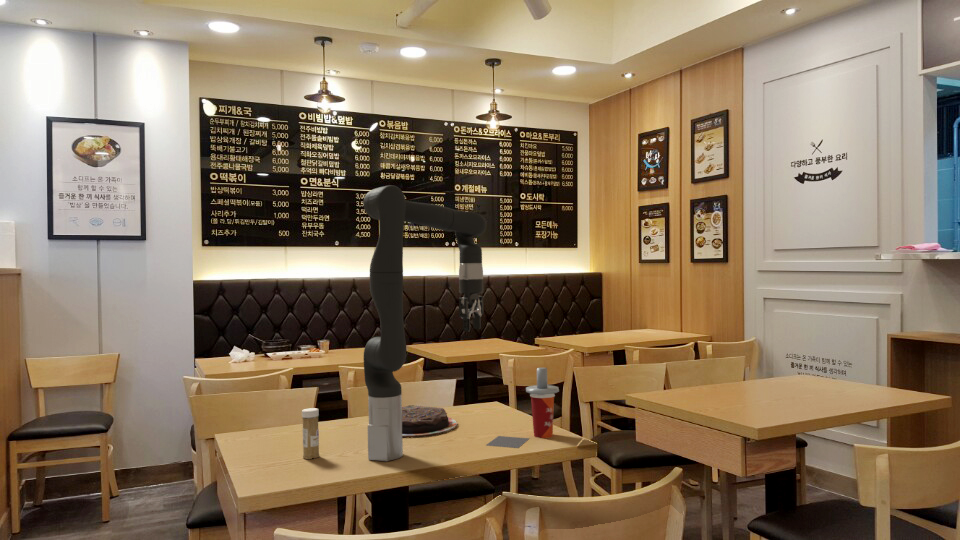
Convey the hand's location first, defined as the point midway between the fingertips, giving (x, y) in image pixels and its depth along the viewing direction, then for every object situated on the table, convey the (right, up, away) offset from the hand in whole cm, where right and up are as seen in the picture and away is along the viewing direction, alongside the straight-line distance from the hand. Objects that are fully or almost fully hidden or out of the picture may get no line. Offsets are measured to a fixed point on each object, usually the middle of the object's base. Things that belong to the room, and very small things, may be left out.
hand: (471, 330), depth 198 cm
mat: (+11, -33, -9) cm, 36 cm away
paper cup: (+22, -33, -3) cm, 39 cm away
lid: (+22, -18, -3) cm, 29 cm away
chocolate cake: (-19, -34, +13) cm, 41 cm away
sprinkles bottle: (-45, -34, -20) cm, 60 cm away
